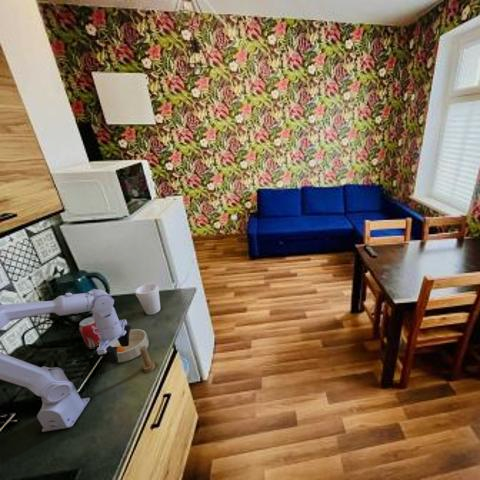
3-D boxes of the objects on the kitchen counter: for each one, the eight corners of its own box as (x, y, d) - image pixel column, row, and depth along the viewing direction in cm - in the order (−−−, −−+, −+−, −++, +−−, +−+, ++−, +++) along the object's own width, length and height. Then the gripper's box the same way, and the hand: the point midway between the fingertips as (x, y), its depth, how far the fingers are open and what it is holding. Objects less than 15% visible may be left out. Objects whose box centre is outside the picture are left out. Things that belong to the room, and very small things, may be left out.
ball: (125, 348, 106) (127, 351, 108) (122, 342, 107) (124, 346, 109) (116, 353, 104) (118, 356, 106) (113, 347, 105) (116, 350, 107)
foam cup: (143, 307, 134) (136, 285, 129) (164, 302, 138) (158, 281, 133) (141, 318, 126) (133, 296, 121) (163, 313, 130) (156, 291, 125)
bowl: (140, 360, 104) (137, 350, 102) (103, 365, 102) (99, 355, 100) (154, 336, 116) (151, 327, 114) (121, 340, 114) (117, 331, 112)
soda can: (97, 351, 108) (87, 328, 103) (83, 348, 109) (72, 325, 105) (112, 339, 114) (104, 316, 110) (99, 336, 116) (90, 314, 111)
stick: (145, 373, 98) (137, 353, 94) (143, 367, 101) (136, 347, 97) (156, 368, 100) (149, 348, 97) (153, 362, 103) (147, 342, 99)
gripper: (109, 337, 82) (122, 369, 88) (131, 308, 96) (141, 337, 101) (84, 340, 81) (98, 372, 87) (109, 310, 94) (121, 340, 100)
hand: (120, 353), depth 94 cm, fingers open, 7 cm apart
